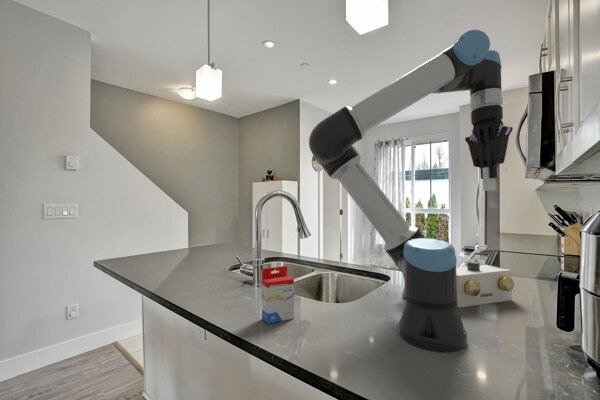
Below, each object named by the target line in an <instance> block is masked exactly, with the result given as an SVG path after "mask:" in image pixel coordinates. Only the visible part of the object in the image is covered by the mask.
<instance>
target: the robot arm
mask: <svg viewBox="0 0 600 400" xmlns="http://www.w3.org/2000/svg"><path fill="white" fill-rule="evenodd" d="M490 47H491V40H490V38H489V36H488V35H487V33H486V32H484V31H483V30H480V29H470V30H467V31H465V32H463V33H462V34H461V35H459V37H458V38H457V39H456V40H455V42H454V44H453V45H451V46H450V47H448V48H446V49H444V50H443V51H442V52H440V53H439V54H437V55H435V56H434V57H432V58H431V59H429V60H427V61H426V62H424V63H422V64H420V65H419V66H417V67H416V68H414V69H413V70H412V69H411V71H409V72H407V73H406V74H403V76H401V77H399V78H397V79H396V80H394V81H393V82H391V83H390V84H387V85H386V86H384V87H383V88H380V89H379V90H377V91H376V92H374V93H373V94H371V95H369V96H368V97H366V98H364V99H362V100H361V101H360V102H358V103H356V104H354V105H353V106H344V107H342V108H341V109H338V110H337V111H336V112H334V113H332V114H331V115H329V116H327V117H326V118H324V119H322V120H321V121H320V122H318V123H317V124H316V125H315V126H314V127H313V129H312V131H311V133H310V135H309V139H308V146H309V150H310V153H312V155H313V156H314V158H315V159H316V161H317V163H318V164H319V165H320V166H321V168H323V170H324V171H325V172H326V174H327V175H328V176H329V178H330V179H333V180H338V181H339V183H340V184H341V185H342V187H343V188H344V189H345V191H346V193H348V195H349V196H350V197H351V199H352V200H353V201H354V203H355V204H356V206H358V208H359V209H360V210H361V212H362V213H363V214H364V216H365V218H367V220H368V221H369V223H370V224H371V225H372V226H373V228H374V229H375V230H376V233H378V234H379V236H380V237H381V238H382V240H383V241H384V251H385V253H387V255H388V256H389V258H391V261H393V263H394V264H395V266H396V267H397V269H398V270H399V271H400V272H401V273H402V276H403V275H404V276H405V297H404V298H405V304H404V305H403V308H402V309H403V310H402V311H401V312H402V313H401V315H400V316H401V317H400V319H399V321H398V333H399V336H400V337H401V338H402V339H403V340H404V341H406V342H407V343H409V344H411V345H413V346H415V347H418V348H421V349H425V350H430V351H435V352H445V353H446V352H457V351H460V350H463V349H464V348H465V347H467V345H468V334H467V330H466V328H465V327H464V324H463V323H464V322H463V320H462V318H461V317H462V316H461V314H460V311H459V309H458V308H459V307H457V280H456V268H457V262H458V260H457V255H456V250H455V247H454V246H453V244H451V243H449V242H447V241H446V240H445V241H444V240H439V239H436V238H426V237H425V235H424V234H423V233H422V232H421V231H420V229H419V228H418V227H417V226H412V225H410V224H409V223H408V222H407V221H406V220H405V218H404V217H403V215H401V212H399V211H398V209H397V208H396V207H395V206H394V204H393V203H392V202H391V201H390V199H389V198H388V196H387V195H386V194H385V192H384V191H383V190H382V189H381V187H380V186H379V185H378V183H377V182H376V181H375V180H374V178H373V177H372V176H371V174H370V173H369V172H368V171H367V169H366V168H365V166H364V165H363V164H362V163H361V161H362V159H361V158H362V155H361V154H360V152H359V151H358V149H357V148H356V147H355V143H357V142H359V141H360V140H362V139H364V135H365V133H367V132H369V131H370V130H371V129H373V128H375V127H377V126H379V125H380V124H382V123H383V122H385V121H386V120H388V119H390V118H392V117H394V116H395V115H397V114H398V113H400V112H402V111H403V110H406V109H407V108H409V107H410V106H412V105H413V104H415V103H417V102H418V101H420V100H422V99H424V98H426V97H427V96H429V95H431V94H444V93H453V92H465V91H469V96H470V99H469V100H470V110H471V113H470V121H471V124H472V131H471V134H470V135H469V136H466V137H465V139H464V140H465V142H466V144H467V145H468V148H469V153H470V156H471V157H470V158H471V160H472V164H473V166H474V167H475V168H476V167H477V168H479V169H480V179H481V180H482V185H483V186H482V190H483V191H484V192H486V191H487V192H488V191H489V192H490V191H496V179H497V177H498V166H500V165H502V164H504V162H505V161H506V160H505V159H506V155H507V149H508V143H509V137H510V136H511V133H512V131H513V130H514V129H513V127H512V126H507V125H504V122H503V121H502V120H503V118H504V115H503V114H504V111H503V106H502V104H503V92H502V67H503V65H502V62H501V56H500V52H498V51H497V50H492V49H490Z"/></svg>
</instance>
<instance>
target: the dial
mask: <svg viewBox="0 0 600 400" xmlns="http://www.w3.org/2000/svg"><path fill="white" fill-rule="evenodd" d="M480 265H481V264H480V262H477V261H467V262H466V267H467V270H471V271H480Z"/></svg>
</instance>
